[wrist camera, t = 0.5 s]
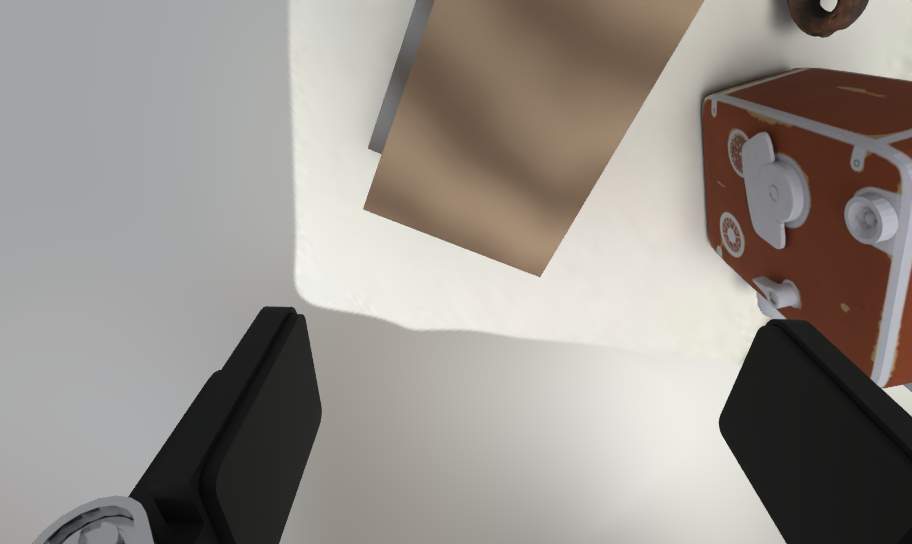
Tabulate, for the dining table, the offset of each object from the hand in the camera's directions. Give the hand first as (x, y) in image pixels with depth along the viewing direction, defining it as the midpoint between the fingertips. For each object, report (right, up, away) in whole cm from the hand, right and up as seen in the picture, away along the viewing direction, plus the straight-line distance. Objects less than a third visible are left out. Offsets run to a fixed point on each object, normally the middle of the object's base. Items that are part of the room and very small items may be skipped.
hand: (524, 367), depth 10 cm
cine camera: (+23, +9, +30) cm, 39 cm away
